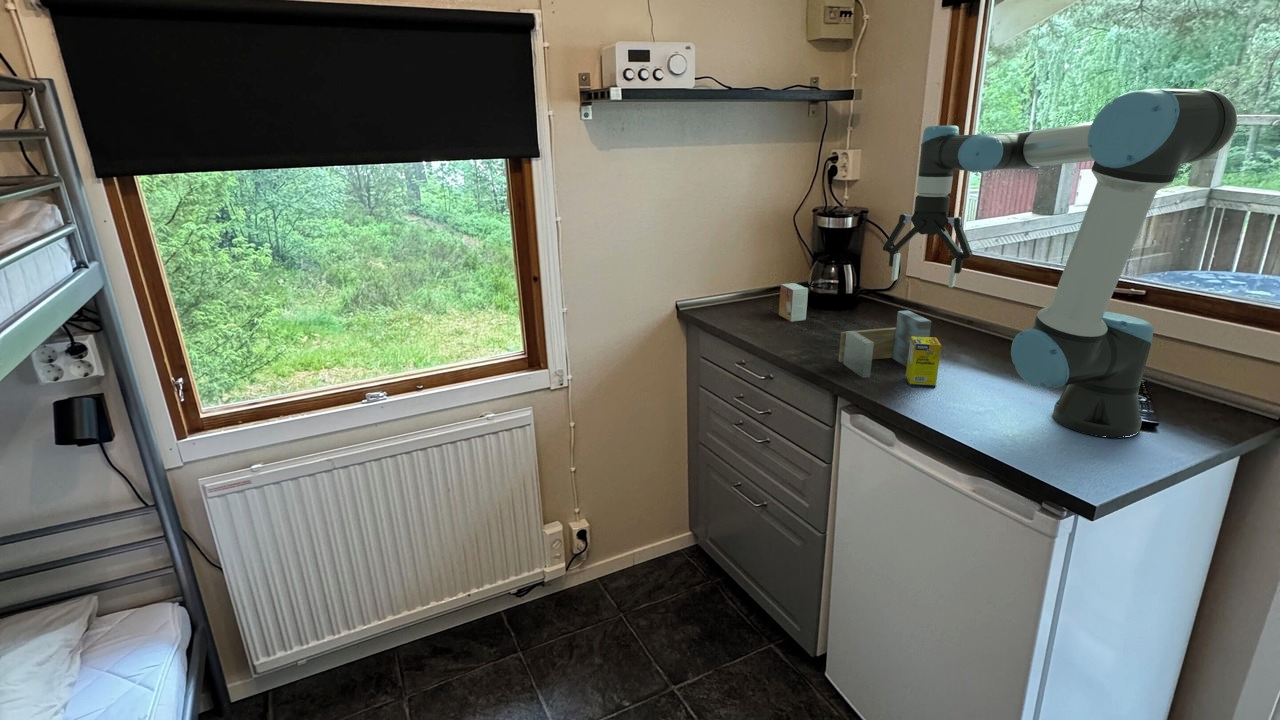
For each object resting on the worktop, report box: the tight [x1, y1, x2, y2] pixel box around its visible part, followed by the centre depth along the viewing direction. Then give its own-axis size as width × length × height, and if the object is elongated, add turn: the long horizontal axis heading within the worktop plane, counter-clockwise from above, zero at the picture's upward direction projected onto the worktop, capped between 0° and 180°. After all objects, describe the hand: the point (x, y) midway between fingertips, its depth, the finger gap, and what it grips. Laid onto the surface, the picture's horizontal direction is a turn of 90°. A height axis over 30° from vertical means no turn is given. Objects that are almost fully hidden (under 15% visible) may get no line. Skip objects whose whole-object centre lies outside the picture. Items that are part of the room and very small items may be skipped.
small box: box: [778, 282, 809, 323], centre depth 212 cm, size 8×6×10 cm
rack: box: [838, 310, 932, 368], centre depth 168 cm, size 14×19×13 cm
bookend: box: [842, 330, 874, 379], centre depth 167 cm, size 10×2×9 cm, turn 11°
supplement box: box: [905, 336, 942, 389], centre depth 158 cm, size 6×6×11 cm
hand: (922, 283), depth 163 cm, fingers open, 13 cm apart
